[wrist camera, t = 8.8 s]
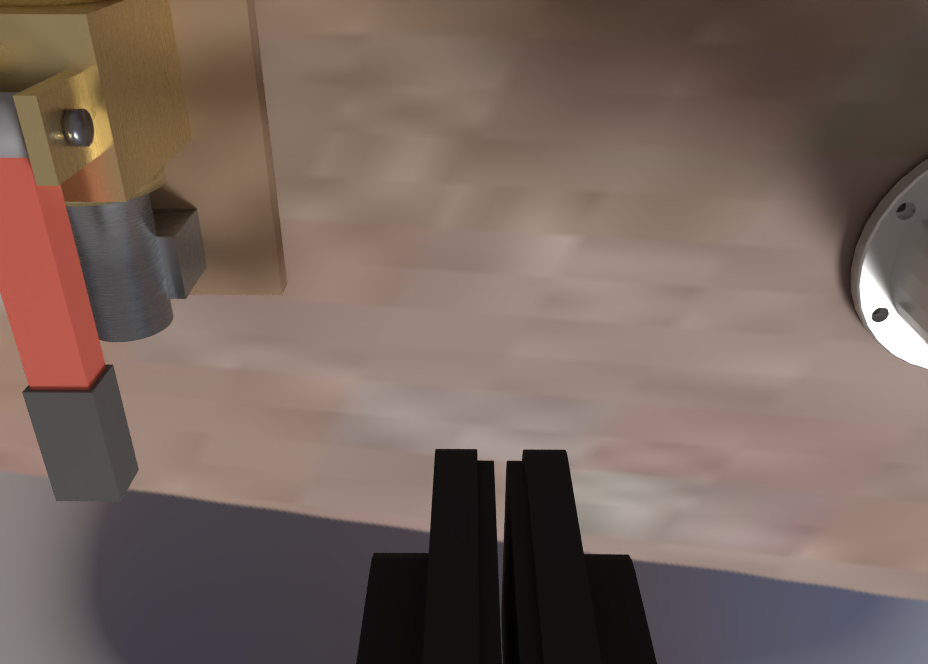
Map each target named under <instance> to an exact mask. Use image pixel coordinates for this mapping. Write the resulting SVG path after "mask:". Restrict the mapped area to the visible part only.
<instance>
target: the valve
mask: <svg viewBox="0 0 928 664" xmlns="http://www.w3.org/2000/svg"><path fill="white" fill-rule="evenodd" d="M0 92H19V93H17V94H15V95H13V99H14V103H15V106H16V110H17V114H18V117H19V121H20V125H21V129H22V132H23V136H24V140H25V143H26V147H27V151H28V155H29V158H30V162H31V166H32V169H33V173H34V177H35V181H36V184H37V186H59V185H61V189H62V193H63V197H64V201H65V205H66V209H67V213H68V217H69V221H70V225H71V229H72V233H73V237H74V241H75V245H76V249H77V253H78V257H79V261H80V265H81V269H82V273H83V277H84V281H85V285H86V289H87V293H88V297H89V301H90V305H91V309H92V313H93V317H94V321H95V325H96V329H97V333H98V337H99V340H102V341H108V342H127V341H134V340H139V339H143V338H146V337H149V336H152V335H154V334H157V333H159V332H160V331H162V330H164V329H165V328H166V327H168V326H169V325H170V323H171V322H172V320H173V311H172V306H171V301H170V299H186V298H187V296H188V295H189V293H190V292H191V290H192V289H193V287H194V286H195V284H196V283H197V281H198V280H199V278H200V277H201V275H202V274H203V272H204V271H205V269H206V268H207V263H206V257H205V251H204V245H203V239H202V233H201V227H200V221H199V216H198V210H197V209H167V208H152V206H151V201H150V196H149V193H150V192H152V191H154V190H156V189H158V188H159V187H161V186H162V185H163V184H164V183H165V181H166V173H165V168H164V166H165V165H166V164H167V163H168V162H169V161H170V160H171V159H172V158H173V157H174V156H175V155H176V154H177V153H178V152H179V151H180V150H181V149H182V148H183V147H184V146H186V145H187V144H188V143H189V142H190V141H191V140H192V135H191V129H190V123H189V117H188V111H187V105H186V99H185V93H184V87H183V81H182V75H181V69H180V62H179V56H178V50H177V44H176V38H175V32H174V26H173V20H172V14H171V8H170V2H169V0H0Z"/></svg>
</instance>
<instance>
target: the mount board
mask: <svg viewBox="0 0 928 664" xmlns="http://www.w3.org/2000/svg"><path fill="white" fill-rule="evenodd" d="M169 2H170V8H171V14H172V20H173V26H174V32H175V38H176V44H177V50H178V56H179V62H180V69H181V75H182V81H183V87H184V93H185V99H186V105H187V111H188V117H189V123H190V129H191V135H192V140H191V141H190V142H189V143H188V144H187V145H186V146H184V147H183V148H182V149H181V150H180V151H179V152H178V153H177V154H176V155H175V156H174V157H173V158H172V159H171V160H170V161H169V162H168V163H167V164H166V165H165V166H164V168H165V173H166V181H165V183H164V184H163V185H162V186H161V187H159V188H158V189H156V190H154V191H152V192H150V193H149V196H150V201H151V206H152V208H167V209H197V210H198V216H199V221H200V227H201V233H202V239H203V245H204V251H205V257H206V263H207V268H206V269H205V271H204V272H203V274H202V275H201V277H200V278H199V280H198V281H197V283H196V284H195V286H194V287H193V289H192V290H191V292H190V293H189V294H247V295H282V294H283V292H284V290H285V288H286V285H287V279H286V271H285V262H284V254H283V245H282V237H281V228H280V220H279V211H278V203H277V194H276V186H275V177H274V169H273V160H272V152H271V143H270V135H269V126H268V118H267V109H266V101H265V92H264V84H263V75H262V67H261V58H260V50H259V41H258V33H257V24H256V16H255V8H254V0H169Z"/></svg>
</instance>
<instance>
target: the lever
mask: <svg viewBox="0 0 928 664" xmlns="http://www.w3.org/2000/svg"><path fill="white" fill-rule="evenodd" d="M17 93H19V92H0V292H1V296H2V299H3V302H4V305H5V309H6V312H7V315H8V318H9V322H10V325H11V328H12V332H13V335H14V338H15V341H16V345H17V348H18V351H19V354H20V358H21V361H22V364H23V367H24V371H25V374H26V377H27V380H28V384H29V385H28V387H27V388H26V389H25V390H24V391H23V392H22V393H23V396H24V399H25V402H26V406H27V409H28V412H29V415H30V418H31V422H32V425H33V428H34V431H35V434H36V438H37V441H38V444H39V447H40V450H41V454H42V457H43V460H44V463H45V466H46V470H47V473H48V476H49V479H50V482H51V486H52V489H53V492H54V495H55V498H56V501H121V500H122V498H123V496H124V495H125V493H126V491H127V489H128V488H129V486H130V484H131V482H132V480H133V479H134V477H135V475H136V473H137V472H138V470H139V469H138V465H137V461H136V457H135V453H134V449H133V445H132V441H131V436H130V432H129V428H128V424H127V420H126V416H125V412H124V408H123V404H122V400H121V395H120V391H119V387H118V383H117V379H116V375H115V371H114V367H113V365H105V362H104V358H103V354H102V350H101V346H100V342H99V337H98V333H97V329H96V325H95V321H94V317H93V313H92V309H91V305H90V301H89V297H88V293H87V289H86V285H85V281H84V277H83V273H82V269H81V265H80V261H79V257H78V253H77V249H76V245H75V241H74V237H73V233H72V229H71V225H70V221H69V217H68V213H67V209H66V205H65V201H64V197H63V193H62V189H61V185H59V186H37V184H36V181H35V177H34V173H33V169H32V166H31V162H30V158H29V155H28V151H27V147H26V143H25V140H24V136H23V132H22V129H21V125H20V121H19V117H18V114H17V110H16V106H15V103H14V99H13V95H15V94H17Z"/></svg>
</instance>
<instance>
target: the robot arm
mask: <svg viewBox="0 0 928 664" xmlns="http://www.w3.org/2000/svg"><path fill="white" fill-rule="evenodd" d="M900 205H901V206H900ZM899 206H900V207H899ZM898 207H899V208H898ZM851 293H852V298H853V302H854V306H855V310H856V312H857V314H858V316H859V318H860V320H861V322H862V324H863V326H864V327H865V328H866V329H867V330H868V332H869V333H870V334H871V335H872V337H873V338H874V339H875V340H876V342H878V343H879V344H880V345H881V346H882V347H883V348H884V349H886V350H887V351H888V352H889V353H890V354H892V355H893V356H895V357H897V358H899V359H901V360H903V361H905V362H907V363H908V364H912V365H915V366H919V367H922V368H926V369H928V159H926V160H925V161H923V162H921V163H920V164H919V165H918V166H916V167H915V168H914V169H913V170H912V171H910V172H909V173H908V174H907V175H906V176H904V177H903V178H902V179H901V180H900V181H898V183H897V184H896V185H895V186H894V187H893V188H892V189H891V190H890V191H889V193H888V194H887V195H886V196H885V197H884V198H883V199H882V200H881V201H880V203H879V204H878V206H877V207H876V209H875V210H874V212H873V214H872V215H871V217H870V218H869V220H868V221H867V223H866V224H865V227H864V229H863V231H862V234H861V236H860V238H859V241H858V243H857V245H856V248H855V253H854V257H853V262H852V266H851ZM502 651H503V664H657V662H656V658H655V654H654V649H653V645H652V641H651V637H650V632H649V628H648V624H647V620H646V615H645V611H644V607H643V603H642V599H641V594H640V590H639V586H638V582H637V577H636V573H635V569H634V566H633V562H632V559H631V558H630V556H629V555H615V554H584V553H583V547H582V541H581V535H580V529H579V523H578V517H577V511H576V505H575V499H574V493H573V487H572V481H571V475H570V469H569V462H568V457H567V452H566V450H523V455H522V461H507V466H506V493H505V523H504V552H503V581H502ZM356 664H502V656H501V630H500V607H499V579H498V553H497V528H496V502H495V477H494V461H477V449H436V450H435V463H434V479H433V495H432V511H431V527H430V543H429V553H374V554H373V557H372V561H371V567H370V574H369V580H368V587H367V594H366V601H365V607H364V615H363V621H362V628H361V635H360V643H359V649H358V656H357V663H356Z"/></svg>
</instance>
